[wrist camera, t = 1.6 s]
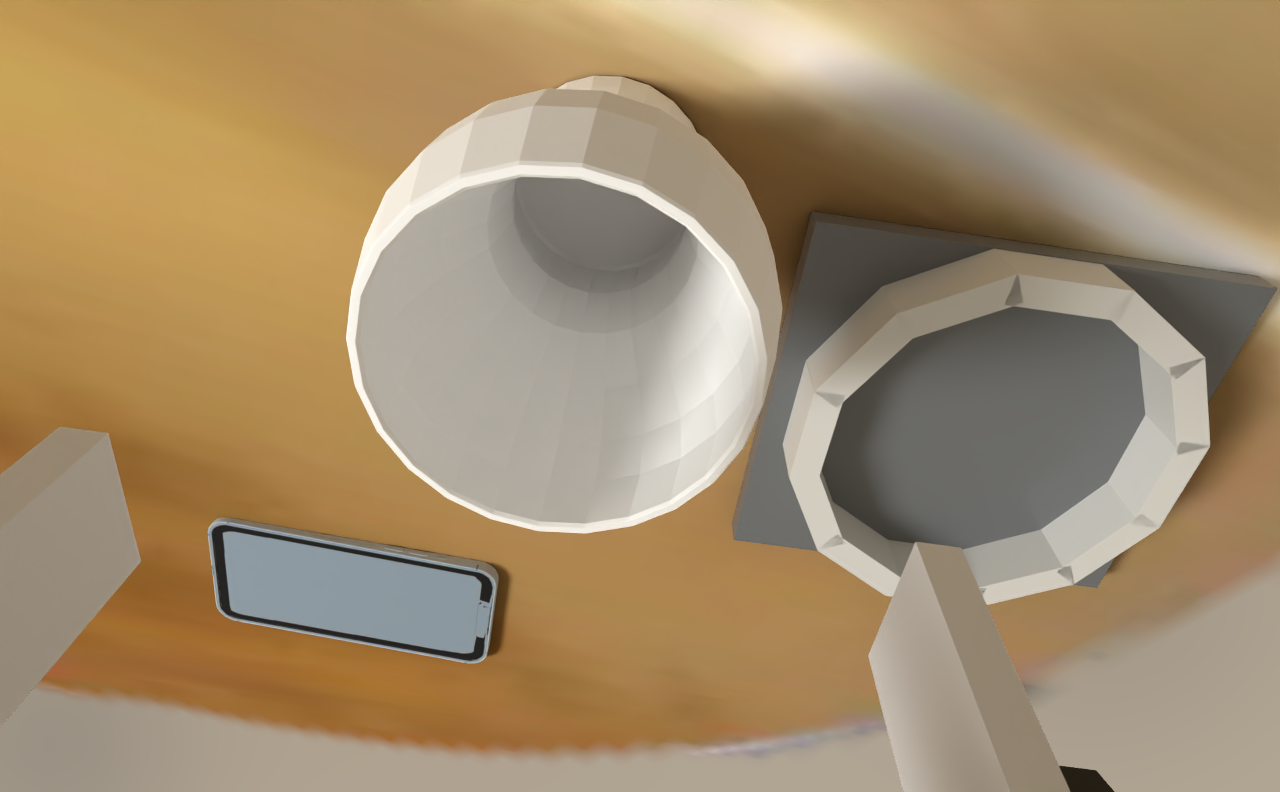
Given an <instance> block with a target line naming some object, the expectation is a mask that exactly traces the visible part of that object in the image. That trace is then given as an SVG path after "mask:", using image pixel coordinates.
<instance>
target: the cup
mask: <svg viewBox="0 0 1280 792" xmlns="http://www.w3.org/2000/svg"><path fill="white" fill-rule="evenodd" d="M782 309H783V308H782V302H781V295H780V289H779V283H778V277H777V270H776V264H775V258H774V254H773V250H772V247H771V243H770V240H769V237H768V233H767V230H766V227H765V225H764V223H763V221H762V219H761V216H760V214H759V212H758V210H757V208H756V206H755V204H754V202H753V200H752V197H751V195H750V193H749V191H748V189H747V187H746V185H745V183H744V181H743V180H742V178H741V177H740V176H739V175H738V174H737V173H736V172H735V170H734V169H733V168H732V167H731V166H730V165H729V164H728V162H727V161H726V160H725V159H724V158H723V157H722V156H721V155H720V153H719V152H718V151H717V150H716V149H715V148H714V147H713V145H712V144H711V143H710V142H709V141H708V140H707V139H706V138H704V137H703V136H701V135H700V134H698V133H697V132H696V130H695V128H694V126H693V124H692V122H691V121H690V120H689V119H688V118H687V116H686V115H685V114H684V113H683V112H682V111H681V110H680V108H679V107H678V106H677V105H676V104H675V103H674V102H673V101H672V100H671V99H669V98H668V97H666V96H665V95H663V94H662V93H660V92H659V91H657V90H656V89H654V88H653V87H651V86H650V85H647V84H644V83H641V82H637V81H634V80H631V79H628V78H625V77H619V76H591V77H587V78H583V79H579V80H575V81H571V82H567V83H565V84H564V85H562V86H560V87H558V88H557V89H543V90H539V91H535V92H531V93H527V94H523V95H519V96H515V97H511V98H507V99H503V100H499V101H495V102H492V103H490V104H488V105H487V106H485V107H483V108H482V109H480V110H478V111H477V112H475V113H473V114H472V115H470V116H468V117H467V118H465V119H463V120H461V121H460V122H458V123H456V124H455V125H453V126H451V127H450V128H448V129H446V130H445V131H444V132H443V133H442V134H441V135H440V136H438V137H437V138H436V139H435V140H434V141H433V142H432V143H431V144H430V145H428V146H427V147H426V148H425V149H424V150H423V151H422V152H421V153H420V154H419V156H418V157H417V158H416V159H415V160H414V161H413V162H412V163H411V164H410V166H409V167H408V168H407V169H406V170H405V171H404V172H403V173H402V174H401V176H400V177H399V178H398V179H397V180H396V181H395V182H394V183H393V184H392V186H391V187H390V188H389V189H388V190H387V191H386V193H385V196H384V198H383V200H382V202H381V204H380V207H379V209H378V211H377V213H376V216H375V218H374V220H373V222H372V224H371V227H370V229H369V231H368V233H367V236H366V238H365V240H364V244H363V248H362V252H361V256H360V259H359V263H358V267H357V271H356V275H355V278H354V282H353V286H352V291H351V300H350V308H349V317H348V326H347V335H346V340H347V346H348V351H349V356H350V362H351V367H352V373H353V378H354V383H355V387H356V389H357V391H358V393H359V395H360V397H361V399H362V402H363V404H364V406H365V408H366V410H367V412H368V414H369V416H370V418H371V420H372V422H373V424H374V426H375V428H376V430H377V432H378V433H379V434H380V435H381V437H382V438H383V439H384V440H385V441H386V443H387V444H388V445H389V446H390V447H391V449H392V450H393V451H394V452H395V453H396V455H397V456H398V457H399V458H400V459H401V461H402V462H403V463H404V464H405V465H406V467H407V468H408V469H409V470H411V471H412V472H413V473H415V474H416V475H417V476H419V477H420V478H421V479H423V480H424V481H425V482H426V483H428V484H429V485H430V486H432V487H433V488H434V489H436V490H437V491H438V492H440V493H441V494H442V495H443V496H445V497H446V498H448V499H450V500H452V501H454V502H456V503H458V504H460V505H462V506H464V507H467V508H469V509H471V510H473V511H475V512H477V513H479V514H481V515H483V516H485V517H487V518H489V519H492V520H496V521H500V522H504V523H508V524H512V525H516V526H520V527H524V528H528V529H532V530H536V531H548V532H568V533H591V532H597V531H604V530H610V529H617V528H623V527H630V526H634V525H636V524H639V523H641V522H644V521H647V520H649V519H652V518H654V517H657V516H659V515H662V514H665V513H667V512H670V511H672V510H675V509H676V508H678V507H679V506H681V505H682V504H684V503H685V502H687V501H688V500H689V499H691V498H692V497H694V496H695V495H697V494H698V493H700V492H701V491H702V490H704V489H705V488H707V487H708V486H710V485H711V484H712V483H714V482H715V481H716V480H717V478H718V477H719V476H720V475H721V474H722V473H723V471H724V470H725V469H726V468H727V467H728V466H729V464H730V463H731V462H732V461H733V460H734V458H735V457H736V456H737V455H738V454H739V453H740V451H741V450H742V449H743V448H744V447H745V444H746V442H747V440H748V438H749V435H750V433H751V431H752V429H753V427H754V424H755V422H756V420H757V418H758V416H759V413H760V411H761V409H762V407H763V404H764V401H765V397H766V393H767V389H768V386H769V382H770V378H771V375H772V371H773V367H774V363H775V360H776V354H777V346H778V339H779V331H780V324H781V316H782Z"/></svg>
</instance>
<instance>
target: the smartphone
mask: <svg viewBox="0 0 1280 792" xmlns="http://www.w3.org/2000/svg"><path fill="white" fill-rule="evenodd" d="M208 539H209V548H210V556H211V564H212V573H213V581H214V589H215V598H216V605H217V608H218V610H219V611H220V612H221V613H222V614H223V615H224V616H226V617H227V618H229V619H232V620H235V621H240V622H245V623H251V624H256V625H262V626H267V627H273V628H278V629H284V630H289V631H294V632H300V633H305V634H311V635H316V636H322V637H327V638H333V639H338V640H344V641H349V642H355V643H360V644H366V645H371V646H377V647H382V648H387V649H393V650H398V651H404V652H409V653H415V654H420V655H426V656H431V657H437V658H442V659H448V660H453V661H459V662H464V663H478V662H481V661H482V660H484V659H485V658H486V656H487V653H488V649H489V646H490V639H491V632H492V625H493V617H494V610H495V603H496V596H497V588H498V581H499V576H498V573H497V571H496V570H495V568H494V567H493V566H491V565H490V564H488V563H486V562H482V561H477V560H472V559H466V558H460V557H454V556H448V555H443V554H437V553H431V552H425V551H419V550H414V549H408V548H402V547H396V546H391V545H385V544H379V543H373V542H367V541H362V540H356V539H350V538H344V537H338V536H333V535H327V534H321V533H314V532H309V531H304V530H298V529H292V528H286V527H281V526H275V525H269V524H263V523H257V522H252V521H246V520H240V519H234V518H227V517H224V518H219V519H217V520H215V521H214V522H213V523H212V524H211V525H210V527H209V529H208Z"/></svg>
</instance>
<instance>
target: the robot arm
mask: <svg viewBox="0 0 1280 792" xmlns="http://www.w3.org/2000/svg"><path fill="white" fill-rule="evenodd" d="M140 562H141V560H140V556H139V552H138V548H137V544H136V540H135V536H134V532H133V528H132V524H131V520H130V516H129V513H128V509H127V505H126V501H125V497H124V493H123V489H122V485H121V481H120V477H119V473H118V469H117V465H116V461H115V457H114V454H113V450H112V446H111V442H110V438H109V434H108V433H103V432H96V431H88V430H81V429H74V428H66V427H59V428H57V429H56V430H55V431H54V432H52V433H51V434H50V435H49V436H47V437H46V438H45V439H44V440H43V441H41V442H40V443H39V444H38V445H36V446H35V447H34V448H33V449H31V450H30V451H29V452H28V453H26V454H25V455H24V456H23V457H22V458H20V459H19V460H18V461H17V462H15V463H14V464H13V465H12V466H10V467H9V468H8V469H7V470H5V471H4V472H3V473H2V474H1V475H0V728H1V726H2V725H3V724H4V723H5V722H6V720H7V719H8V718H9V717H10V716H11V715H12V713H13V712H14V711H15V710H16V709H17V707H18V706H19V705H20V704H21V703H22V702H23V700H24V699H25V698H26V697H27V696H28V694H29V693H30V692H31V691H32V690H33V689H34V687H35V686H36V685H37V684H38V683H39V681H40V680H41V679H42V678H43V677H44V676H45V674H46V673H47V672H48V671H49V670H50V668H51V667H52V666H53V665H54V664H55V663H56V661H57V660H58V659H59V658H60V657H61V655H62V654H63V653H64V652H65V651H66V650H67V648H68V647H69V646H70V645H71V644H72V642H73V641H74V640H75V639H76V638H77V637H78V635H79V634H80V633H81V632H82V631H83V629H84V628H85V627H86V626H87V625H88V624H89V622H90V621H91V620H92V619H93V618H94V616H95V615H96V614H97V613H98V612H99V611H100V609H101V608H102V607H103V606H104V605H105V603H106V602H107V601H108V600H109V599H110V598H111V596H112V595H113V594H114V593H115V592H116V590H117V589H118V588H119V587H120V586H121V585H122V583H123V582H124V581H125V580H126V579H127V577H128V576H129V575H130V574H131V573H132V572H133V570H134V569H135V568H136V567H137V566H138V564H139V563H140ZM869 660H870V664H871V668H872V672H873V676H874V680H875V684H876V688H877V691H878V695H879V699H880V703H881V707H882V711H883V715H884V719H885V723H886V727H887V731H888V734H889V738H890V742H891V746H892V750H893V754H894V758H895V762H896V766H897V770H898V774H899V778H900V781H901V785H902V789H903V792H1114V791H1113V789H1112V788H1111V787H1110V786H1109V785H1108V784H1107V783H1106V781H1105V780H1104V779H1103V778H1102V777H1101V776H1100V774H1099V773H1098V772H1097V771H1096V770H1089V769H1081V768H1073V767H1065V766H1059V765H1058V763H1057V761H1056V759H1055V756H1054V754H1053V752H1052V750H1051V747H1050V745H1049V743H1048V741H1047V738H1046V736H1045V734H1044V732H1043V730H1042V727H1041V725H1040V723H1039V720H1038V718H1037V716H1036V714H1035V712H1034V710H1033V707H1032V705H1031V703H1030V700H1029V698H1028V696H1027V694H1026V691H1025V689H1024V687H1023V685H1022V683H1021V680H1020V678H1019V676H1018V674H1017V671H1016V669H1015V667H1014V665H1013V662H1012V660H1011V658H1010V656H1009V654H1008V651H1007V649H1006V647H1005V645H1004V642H1003V640H1002V638H1001V636H1000V633H999V631H998V629H997V627H996V625H995V622H994V620H993V618H992V616H991V613H990V611H989V609H988V607H987V604H986V602H985V600H984V598H983V596H982V593H981V591H980V589H979V587H978V584H977V582H976V580H975V578H974V575H973V573H972V571H971V569H970V567H969V564H968V562H967V560H966V558H965V555H964V553H963V551H962V549H961V548H960V547H952V546H945V545H937V544H930V543H923V542H915V544H914V546H913V549H912V551H911V554H910V556H909V558H908V561H907V563H906V566H905V568H904V571H903V573H902V575H901V578H900V580H899V583H898V585H897V588H896V590H895V592H894V595H893V597H892V600H891V602H890V605H889V607H888V609H887V612H886V614H885V617H884V619H883V622H882V624H881V626H880V629H879V631H878V634H877V636H876V639H875V641H874V643H873V646H872V648H871V651H870V653H869Z"/></svg>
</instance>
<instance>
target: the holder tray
mask: <svg viewBox="0 0 1280 792" xmlns="http://www.w3.org/2000/svg"><path fill="white" fill-rule="evenodd" d="M1276 290H1277V288H1276V287H1274V286H1272V285H1271V284H1269V283H1268V282H1266V281H1264V280H1263V279H1261V278H1260V277H1258V276H1252V275H1245V274H1239V273H1232V272H1225V271H1218V270H1211V269H1204V268H1197V267H1191V266H1184V265H1177V264H1170V263H1163V262H1156V261H1149V260H1143V259H1136V258H1129V257H1122V256H1115V255H1108V254H1101V253H1095V252H1088V251H1081V250H1074V249H1067V248H1060V247H1053V246H1047V245H1040V244H1033V243H1026V242H1019V241H1012V240H1006V239H999V238H992V237H985V236H978V235H971V234H964V233H958V232H951V231H944V230H937V229H930V228H923V227H916V226H910V225H903V224H896V223H889V222H882V221H875V220H868V219H862V218H855V217H848V216H841V215H834V214H827V213H820V212H814V211H812V212H811V216H810V220H809V223H808V227H807V231H806V235H805V239H804V243H803V247H802V251H801V255H800V259H799V263H798V267H797V271H796V275H795V279H794V283H793V286H792V290H791V294H790V298H789V302H788V306H787V310H786V314H785V318H784V322H783V326H782V330H781V334H780V338H779V342H778V346H777V354H776V360H775V363H774V367H773V371H772V375H771V378H770V382H769V386H768V389H767V393H766V397H765V401H764V404H763V407H762V409H761V412H760V416H759V420H758V424H757V428H756V432H755V436H754V440H753V444H752V448H751V452H750V456H749V460H748V463H747V467H746V471H745V475H744V479H743V483H742V487H741V491H740V495H739V499H738V503H737V507H736V511H735V515H734V519H733V523H732V526H733V538H734V540H738V541H746V542H754V543H761V544H769V545H776V546H784V547H791V548H799V549H807V550H814V551H819V552H821V553H822V554H824V555H825V556H827V557H828V558H830V559H831V560H833V561H834V562H836V563H837V564H839V565H840V566H842V567H843V568H845V569H846V570H848V571H849V572H851V573H852V574H854V575H855V576H857V577H858V578H860V579H861V580H863V581H864V582H866V583H867V584H869V585H870V586H872V587H873V588H875V589H876V590H878V591H879V592H881V593H882V594H884V595H885V596H893V595H894V592H895V590H896V588H897V585H898V583H899V580H900V578H901V575H902V573H903V571H904V568H905V566H906V563H907V561H908V558H909V556H910V554H911V551H912V549H913V546H914V544H915V542H923V543H930V544H937V545H945V546H952V547H960V548H961V549H962V551H963V553H964V555H965V558H966V560H967V562H968V564H969V567H970V569H971V571H972V573H973V575H974V578H975V580H976V582H977V584H978V587H979V589H980V591H981V593H982V596H983V598H984V600H985V602H986V604H987V605H988V604H993V603H997V602H1001V601H1005V600H1010V599H1014V598H1018V597H1022V596H1026V595H1031V594H1035V593H1039V592H1043V591H1047V590H1052V589H1056V588H1060V587H1064V586H1069V585H1080V586H1087V587H1095V588H1097V587H1098V585H1099V584H1100V582H1101V580H1102V579H1103V577H1104V575H1105V574H1106V572H1107V570H1108V569H1109V567H1110V565H1111V564H1112V562H1113V560H1114V559H1115V557H1116V556H1117V555H1119V554H1120V553H1122V552H1123V551H1125V550H1127V549H1128V548H1130V547H1131V546H1133V545H1134V544H1136V543H1137V542H1139V541H1140V540H1142V539H1143V538H1145V537H1146V536H1148V535H1149V534H1151V533H1152V532H1154V531H1155V530H1157V529H1158V528H1160V526H1161V524H1162V523H1163V521H1164V520H1165V518H1166V516H1167V515H1168V513H1169V512H1170V510H1171V508H1172V507H1173V505H1174V504H1175V502H1176V500H1177V499H1178V497H1179V496H1180V494H1181V492H1182V491H1183V489H1184V488H1185V486H1186V484H1187V483H1188V481H1189V480H1190V478H1191V476H1192V475H1193V473H1194V472H1195V470H1196V468H1197V467H1198V465H1199V464H1200V462H1201V460H1202V459H1203V457H1204V456H1205V454H1206V452H1207V451H1208V449H1209V448H1210V432H1209V415H1208V403H1209V401H1210V399H1211V398H1212V396H1213V394H1214V393H1215V391H1216V389H1217V388H1218V386H1219V384H1220V383H1221V381H1222V379H1223V378H1224V376H1225V374H1226V373H1227V371H1228V369H1229V368H1230V366H1231V364H1232V363H1233V361H1234V359H1235V358H1236V356H1237V354H1238V353H1239V351H1240V349H1241V348H1242V346H1243V344H1244V343H1245V341H1246V339H1247V338H1248V336H1249V334H1250V333H1251V331H1252V329H1253V328H1254V326H1255V324H1256V323H1257V321H1258V319H1259V318H1260V316H1261V315H1262V313H1263V311H1264V310H1265V308H1266V306H1267V305H1268V303H1269V301H1270V300H1271V298H1272V296H1273V295H1274V293H1275V291H1276Z"/></svg>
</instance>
